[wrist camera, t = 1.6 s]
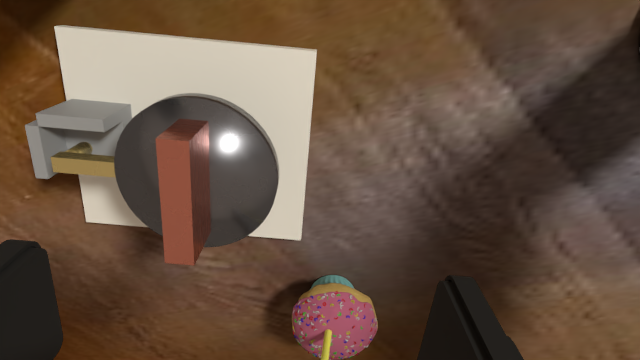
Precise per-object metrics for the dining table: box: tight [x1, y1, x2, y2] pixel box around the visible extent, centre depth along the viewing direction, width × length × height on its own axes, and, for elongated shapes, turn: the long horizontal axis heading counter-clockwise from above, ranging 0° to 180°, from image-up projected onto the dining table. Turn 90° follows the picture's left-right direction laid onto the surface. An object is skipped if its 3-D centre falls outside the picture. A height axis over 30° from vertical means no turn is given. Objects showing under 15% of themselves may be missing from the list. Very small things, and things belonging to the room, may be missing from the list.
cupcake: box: [292, 275, 378, 360], centre depth 39 cm, size 9×8×12 cm
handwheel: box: [51, 93, 279, 265], centre depth 30 cm, size 17×12×9 cm
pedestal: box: [25, 25, 317, 240], centre depth 35 cm, size 22×18×6 cm
